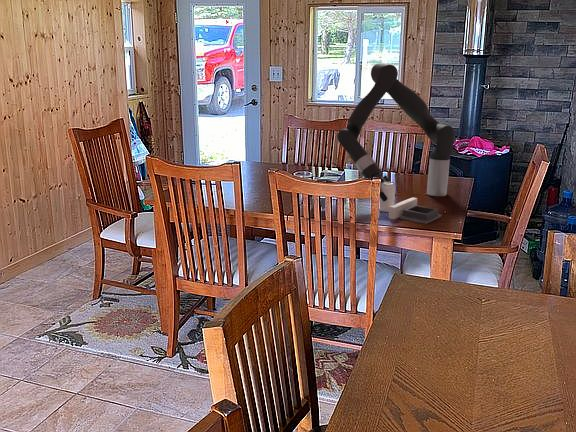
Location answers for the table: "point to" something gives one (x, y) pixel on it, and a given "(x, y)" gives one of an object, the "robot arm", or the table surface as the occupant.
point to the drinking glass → (321, 198)
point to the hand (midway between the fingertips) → (390, 198)
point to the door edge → (401, 207)
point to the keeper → (420, 214)
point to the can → (390, 194)
